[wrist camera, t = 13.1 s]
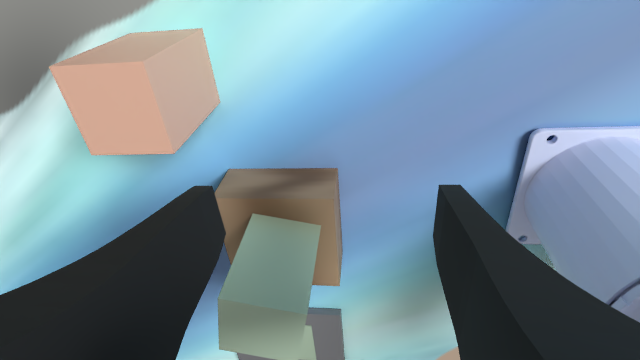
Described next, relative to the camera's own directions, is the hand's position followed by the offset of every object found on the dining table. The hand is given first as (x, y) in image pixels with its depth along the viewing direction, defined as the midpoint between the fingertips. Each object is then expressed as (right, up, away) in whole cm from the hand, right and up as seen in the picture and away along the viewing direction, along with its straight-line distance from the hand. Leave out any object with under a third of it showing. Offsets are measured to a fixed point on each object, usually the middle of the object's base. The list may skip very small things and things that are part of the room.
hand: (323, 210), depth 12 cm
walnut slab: (-2, -1, +13) cm, 14 cm away
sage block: (-2, -3, +10) cm, 11 cm away
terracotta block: (-8, +7, +8) cm, 14 cm away
